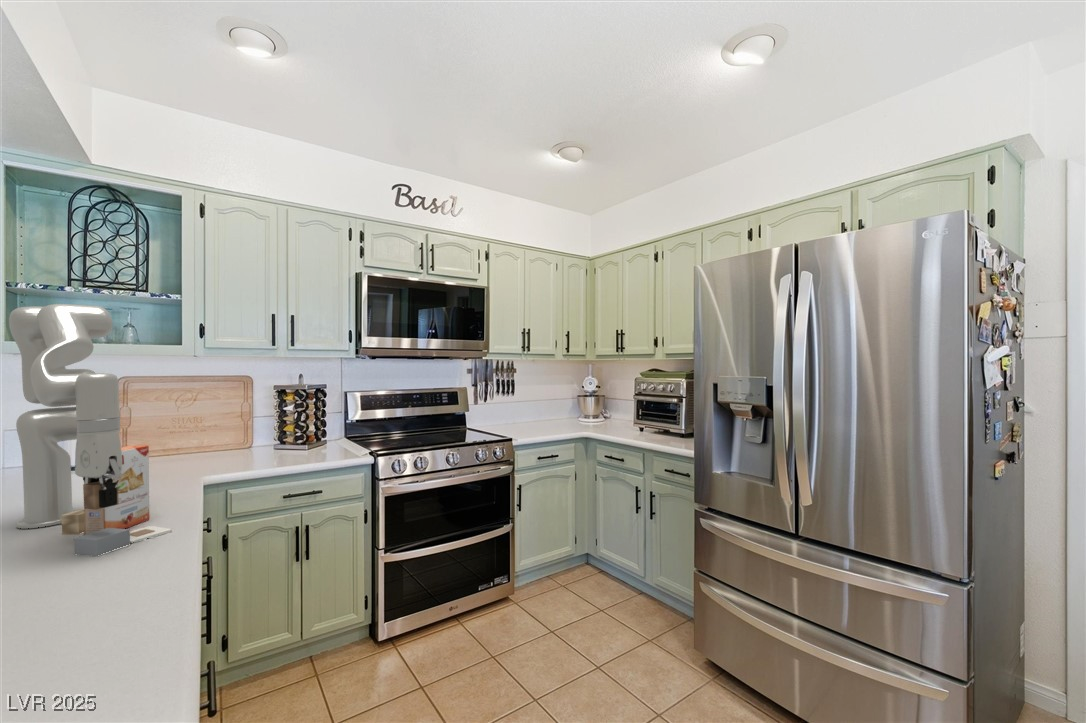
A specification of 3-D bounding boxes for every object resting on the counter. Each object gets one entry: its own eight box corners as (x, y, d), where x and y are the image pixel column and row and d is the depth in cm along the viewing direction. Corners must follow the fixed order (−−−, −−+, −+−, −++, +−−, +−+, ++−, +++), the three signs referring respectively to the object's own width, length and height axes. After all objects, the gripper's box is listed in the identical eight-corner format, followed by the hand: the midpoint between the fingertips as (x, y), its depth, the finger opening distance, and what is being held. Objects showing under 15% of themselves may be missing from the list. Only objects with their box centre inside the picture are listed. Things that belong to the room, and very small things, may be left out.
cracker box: (107, 537, 124) (104, 453, 124) (83, 537, 125) (80, 454, 125) (152, 519, 138) (149, 444, 138) (130, 519, 139) (128, 444, 139)
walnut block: (84, 508, 114) (83, 484, 114) (107, 503, 118) (106, 479, 118) (95, 509, 113) (94, 485, 113) (118, 504, 117) (117, 480, 117)
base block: (74, 555, 113) (73, 538, 113) (108, 544, 120) (107, 527, 120) (97, 557, 111) (96, 539, 111) (130, 546, 118) (129, 529, 118)
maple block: (62, 534, 128) (61, 515, 128) (79, 528, 132) (78, 509, 132) (78, 534, 128) (78, 514, 128) (95, 528, 132) (94, 509, 132)
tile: (109, 539, 122) (109, 536, 122) (150, 528, 131) (150, 525, 131) (131, 543, 119) (131, 540, 119) (172, 531, 127) (171, 528, 127)
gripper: (58, 428, 115) (61, 507, 115) (100, 429, 109) (103, 513, 109) (97, 424, 122) (100, 498, 122) (139, 425, 116) (142, 503, 116)
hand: (101, 504), depth 116 cm, fingers closed on walnut block, 4 cm apart
